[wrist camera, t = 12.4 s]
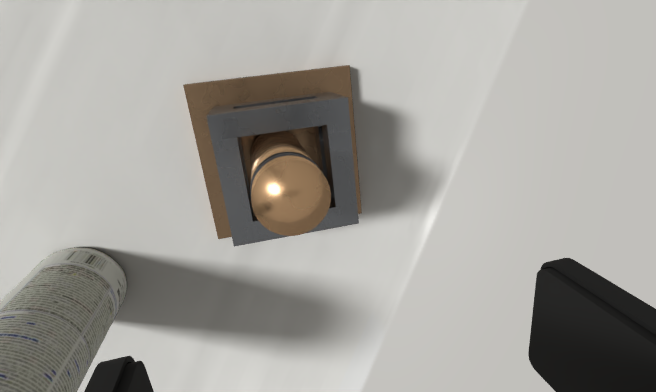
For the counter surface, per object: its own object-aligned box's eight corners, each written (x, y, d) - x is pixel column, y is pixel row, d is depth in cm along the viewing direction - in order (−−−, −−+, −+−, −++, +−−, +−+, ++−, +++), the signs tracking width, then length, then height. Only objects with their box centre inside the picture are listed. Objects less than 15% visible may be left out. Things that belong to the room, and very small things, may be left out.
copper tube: (244, 133, 28) (242, 167, 18) (298, 124, 29) (326, 152, 19) (255, 185, 30) (259, 243, 20) (306, 176, 30) (336, 228, 20)
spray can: (16, 267, 29) (-380, 618, 11) (99, 229, 30) (-146, 505, 11) (71, 329, 32) (-174, 702, 13) (146, 294, 32) (12, 608, 13)
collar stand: (185, 84, 28) (168, 89, 21) (346, 65, 29) (372, 65, 23) (219, 234, 32) (213, 273, 26) (358, 208, 33) (383, 240, 27)
